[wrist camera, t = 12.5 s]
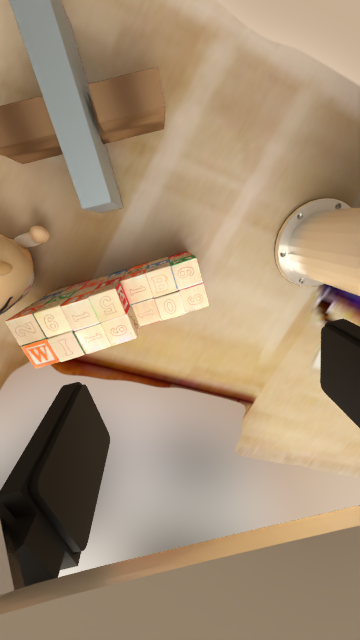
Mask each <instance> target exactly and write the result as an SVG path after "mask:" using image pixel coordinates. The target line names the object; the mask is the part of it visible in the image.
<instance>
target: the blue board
mask: <svg viewBox="0 0 360 640" xmlns="http://www.w3.org/2000/svg"><path fill="white" fill-rule="evenodd" d="M9 1H10V4H11V7H12V10H13V13H14V15H15V18H16V21H17V24H18V27H19V30H20V33H21V35H22V38H23V41H24V44H25V47H26V50H27V53H28V55H29V58H30V61H31V64H32V67H33V70H34V73H35V75H36V78H37V81H38V84H39V87H40V90H41V93H42V95H43V98H44V101H45V104H46V107H47V110H48V113H49V115H50V118H51V121H52V124H53V127H54V130H55V133H56V135H57V138H58V141H59V144H60V147H61V150H62V153H63V155H64V158H65V161H66V164H67V167H68V170H69V173H70V175H71V178H72V181H73V184H74V187H75V190H76V193H77V195H78V198H79V201H80V204H81V207H82V209H84V210H89V211H94V212H99V213H105V212H109V211H113V210H117V209H121V208H123V204H122V201H121V197H120V194H119V190H118V187H117V183H116V180H115V176H114V173H113V169H112V166H111V162H110V159H109V155H108V152H107V149H106V147H105V146H104V144H103V143H102V141H101V138H100V135H99V132H98V128H97V125H96V121H95V118H94V114H93V111H92V108H91V104H90V101H93V100H92V96H91V93H90V89H89V86H88V82H87V79H86V75H85V72H84V68H83V65H82V61H81V58H80V54H79V51H78V47H77V44H76V40H75V37H74V33H73V30H72V26H71V24H70V21H69V19H68V17H67V14H66V12H65V10H64V8H63V5H62V3H61V1H60V0H9Z"/></svg>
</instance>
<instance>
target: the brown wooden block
mask: <svg viewBox="0 0 360 640" xmlns="http://www.w3.org/2000/svg"><path fill="white" fill-rule="evenodd" d="M88 86H89V89H90V93H91V96H92V100H93V101H90V104H91V108H92V111H93V114H94V118H95V121H96V125H97V128H98V132H99V135H100V138H101V141H102V143H103V144H105V143H109V142H113V141H117V140H121V139H125V138H129V137H133V136H137V135H141V134H145V133H149V132H153V131H157V130H161V129H164V118H165V103H164V98H163V93H162V88H161V83H160V77H159V72H158V67H155V68H151V69H147V70H143V71H139V72H135V73H131V74H127V75H123V76H119V77H115V78H111V79H107V80H103V81H99V82H95V83H91V84H88ZM0 154H2V155H4V156H6V157H8V158H11V159H13V160H15V161H17V162H20V163H22V164H25V163H29V162H33V161H37V160H41V159H45V158H49V157H53V156H57V155H61V154H63V153H62V150H61V147H60V144H59V141H58V138H57V135H56V133H55V130H54V127H53V124H52V121H51V118H50V115H49V113H48V110H47V107H46V104H45V101H44V98H43V96H39V97H35V98H31V99H27V100H23V101H19V102H15V103H11V104H7V105H3V106H0Z"/></svg>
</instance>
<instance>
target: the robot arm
mask: <svg viewBox="0 0 360 640" xmlns="http://www.w3.org/2000/svg"><path fill="white" fill-rule="evenodd" d="M297 215H298V217H297ZM280 253H281V255H280ZM275 259H276V264H277V266H278V269H279V271H280V272H281V274H282V275H283V276H284V277H285V278H286V279H287V280H288V281H290V282H292V283H294V284H296V285H299V286H304V287H315V286H319V285H323V284H327V285H330V286H333V287H336V288H339V289H341V290H344V291H347V292H350V293H353V294H355V295H358V296H360V208H351V207H350V206H349V205H347V204H346V203H344V202H343V201H340V200H337V199H332V198H324V199H318V200H314V201H310V202H308V203H306V204H304V205H302V206H301V207H299V208H298V209H296V210H295V211H294V212H293V213H292V214H291V215H290V216H289V217H288V219H287V220H286V221H285V223H284V224H283V226H282V228H281V230H280V231H279V234H278V237H277V240H276V245H275ZM320 383H321V387H322V389H323V391H324V392H325V393H326V394H327V395H328V396H329V397H330V398H331V399H332V400H333V401H334V402H335V403H336V404H337V405H338V406H339V407H340V408H341V409H342V411H343V412H344V413H345V414H346V415H347V416H348V417H349V418H350V419H351V420H352V421H353V422H354V423H355V424H356V425H357V426H358V427H359V428H360V327H359V326H357V325H355V324H353V323H351V322H349V321H348V320H345V319H339V320H335V321H331V322H327V323H326V324H325V327H323V328H322V330H321V379H320ZM109 444H110V436H109V433H108V431H107V428H106V426H105V424H104V422H103V420H102V418H101V416H100V413H99V411H98V409H97V407H96V405H95V403H94V401H93V399H92V397H91V394H90V393H89V390H88V388H87V386H86V385H82V384H81V383H80V382H76V383H72V384H69V385H64V386H63V387H62V388H61V389H60V391H59V393H58V395H57V396H56V398H55V400H54V401H53V403H52V405H51V406H50V408H49V410H48V411H47V413H46V415H45V416H44V418H43V420H42V421H41V423H40V425H39V426H38V428H37V430H36V431H35V433H34V435H33V436H32V438H31V440H30V442H29V443H28V445H27V447H26V448H25V450H24V452H23V453H22V455H21V457H20V458H19V460H18V462H17V464H16V465H15V467H14V469H13V470H12V472H11V474H10V475H9V477H8V479H7V480H6V482H5V484H4V485H3V487H2V489H1V490H0V640H360V505H359V506H354V507H350V508H346V509H341V510H337V511H332V512H328V513H324V514H319V515H315V516H311V517H307V518H302V519H298V520H294V521H290V522H285V523H281V524H276V525H272V526H268V527H264V528H259V529H255V530H251V531H247V532H242V533H238V534H234V535H230V536H225V537H222V538H217V539H213V540H209V541H204V542H200V543H196V544H192V545H188V546H183V547H179V548H175V549H171V550H167V551H163V552H158V553H154V554H150V555H146V556H142V557H138V558H134V559H129V560H125V561H121V562H117V563H113V564H109V565H105V566H100V567H97V568H93V569H89V570H85V571H81V572H78V573H74V574H70V575H66V576H62V577H59V578H58V574H59V571H60V570H62V569H66V568H70V567H75V566H78V563H79V559H80V554H81V551H83V550H84V549H85V548H86V546H87V543H88V539H89V534H90V530H91V525H92V521H93V516H94V512H95V507H96V503H97V498H98V493H99V489H100V485H101V480H102V476H103V471H104V467H105V462H106V458H107V453H108V449H109Z"/></svg>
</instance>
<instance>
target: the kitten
mask: <svg viewBox="0 0 360 640" xmlns="http://www.w3.org/2000/svg"><path fill="white" fill-rule="evenodd" d="M48 239H49V233H48V231H47V230H46V229H45V228H44V227H42V226H32V227H31V228H30V232H28V233H24V234H21V235H19V236H17V237H16V238H15V239H14V240H13V239H10V238H6V237H5V236H3V235H2V234H0V315H1V314H2V313H4V312H6V311H7V310H9V309H10V308H11V307H12V306H13V305H14V304H16V303H17V302H19V301H20V300H21V299H22V298H23V297H25V296H26V294H27V293H28V292H29V291H30V289H31V287H32V285H33V282H34V268H33V261H32V256H31V254H30V252H29V251H28V249H27V248H28V247H34V246H37V245H38V244H42V243H45V242H47V241H48ZM3 310H4V311H3Z"/></svg>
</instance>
